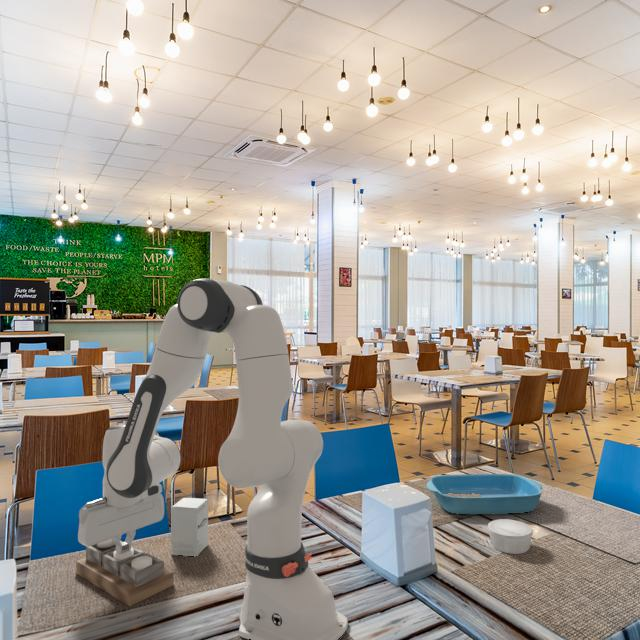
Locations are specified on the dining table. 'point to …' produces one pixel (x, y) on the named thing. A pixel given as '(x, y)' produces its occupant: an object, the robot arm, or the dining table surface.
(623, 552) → the dining table surface
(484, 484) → the casserole dish
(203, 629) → the dining table surface
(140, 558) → the knob near
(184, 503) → the supplement box
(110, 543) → the knob far
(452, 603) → the dining table surface
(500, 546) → the ramekin
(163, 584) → the knob mount
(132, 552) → the knob middle
